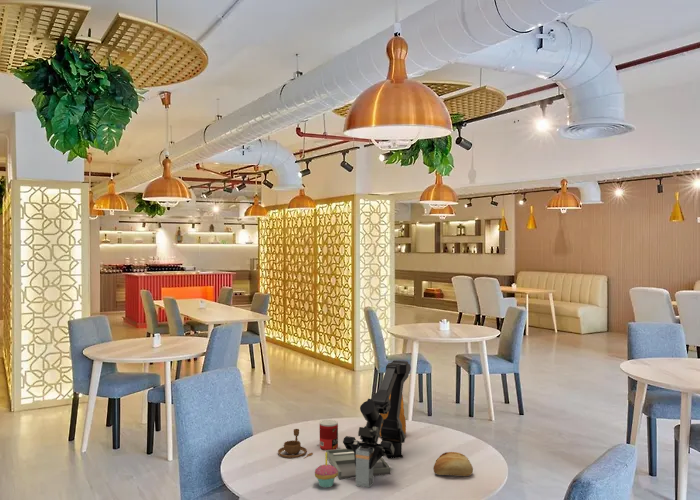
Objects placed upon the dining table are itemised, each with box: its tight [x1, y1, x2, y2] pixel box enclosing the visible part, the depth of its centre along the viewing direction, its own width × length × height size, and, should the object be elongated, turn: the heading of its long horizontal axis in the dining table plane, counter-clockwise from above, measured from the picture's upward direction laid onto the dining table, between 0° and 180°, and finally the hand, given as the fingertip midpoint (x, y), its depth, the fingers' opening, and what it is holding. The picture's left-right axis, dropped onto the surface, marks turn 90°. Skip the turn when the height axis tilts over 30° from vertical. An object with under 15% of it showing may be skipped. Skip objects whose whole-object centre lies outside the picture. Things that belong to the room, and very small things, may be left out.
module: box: [355, 445, 374, 489], centre depth 217 cm, size 5×5×14 cm
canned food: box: [319, 419, 339, 451], centre depth 255 cm, size 8×8×11 cm
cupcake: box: [314, 451, 338, 488], centre depth 216 cm, size 9×8×12 cm
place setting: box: [277, 428, 314, 459], centre depth 252 cm, size 18×20×6 cm
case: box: [325, 448, 392, 480], centre depth 236 cm, size 20×26×4 cm
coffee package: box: [379, 394, 407, 438], centre depth 270 cm, size 10×12×22 cm
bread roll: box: [432, 451, 474, 477], centre depth 226 cm, size 10×15×8 cm, turn 92°
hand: (363, 467), depth 215 cm, fingers closed on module, 5 cm apart
